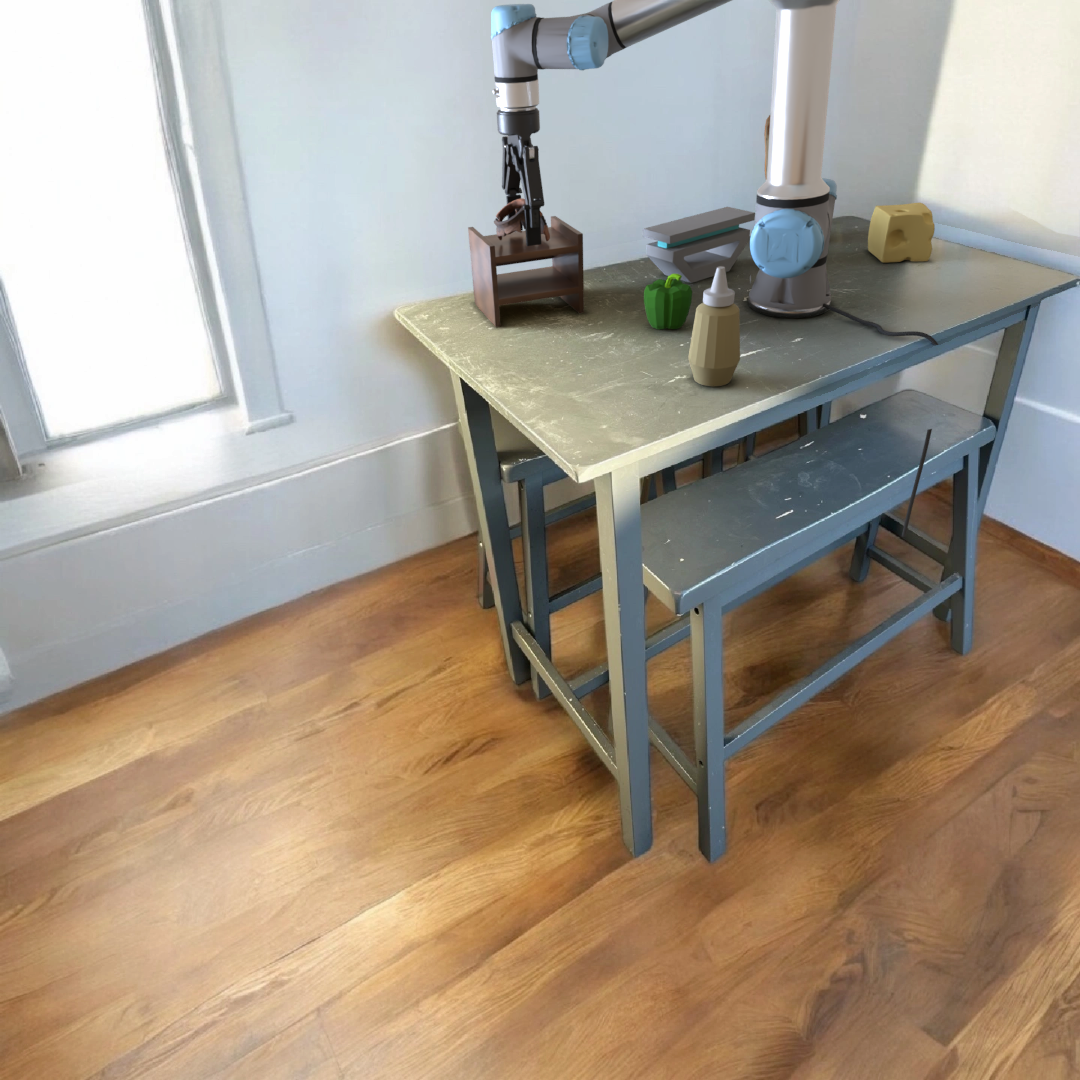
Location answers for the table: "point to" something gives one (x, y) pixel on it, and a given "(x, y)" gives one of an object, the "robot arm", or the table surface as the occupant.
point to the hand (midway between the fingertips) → (524, 237)
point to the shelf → (528, 283)
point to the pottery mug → (516, 220)
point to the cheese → (901, 232)
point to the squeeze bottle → (715, 335)
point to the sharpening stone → (699, 243)
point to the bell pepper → (667, 302)
